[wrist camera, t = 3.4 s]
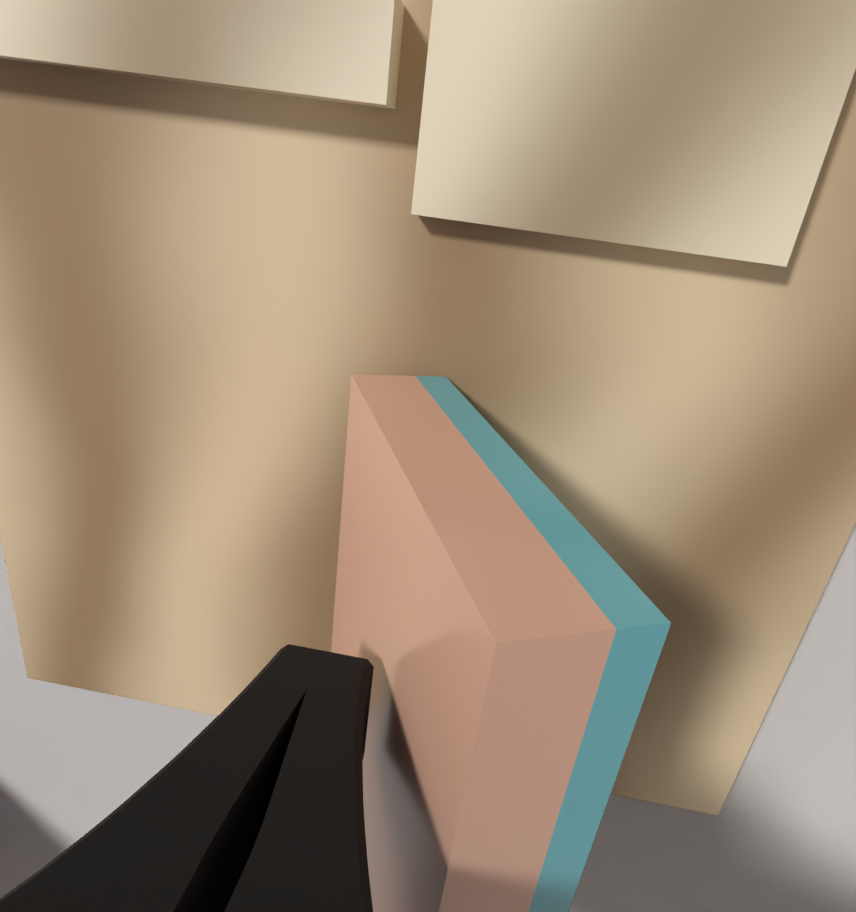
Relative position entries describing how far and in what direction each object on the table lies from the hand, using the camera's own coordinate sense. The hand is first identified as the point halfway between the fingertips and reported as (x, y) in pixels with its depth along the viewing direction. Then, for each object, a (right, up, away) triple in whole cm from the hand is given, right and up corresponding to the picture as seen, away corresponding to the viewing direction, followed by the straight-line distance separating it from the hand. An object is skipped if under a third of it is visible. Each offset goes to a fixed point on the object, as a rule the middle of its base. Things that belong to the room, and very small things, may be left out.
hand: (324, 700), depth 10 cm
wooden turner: (0, +10, 0) cm, 10 cm away
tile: (+1, +2, +4) cm, 4 cm away
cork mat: (+1, +5, +3) cm, 6 cm away
